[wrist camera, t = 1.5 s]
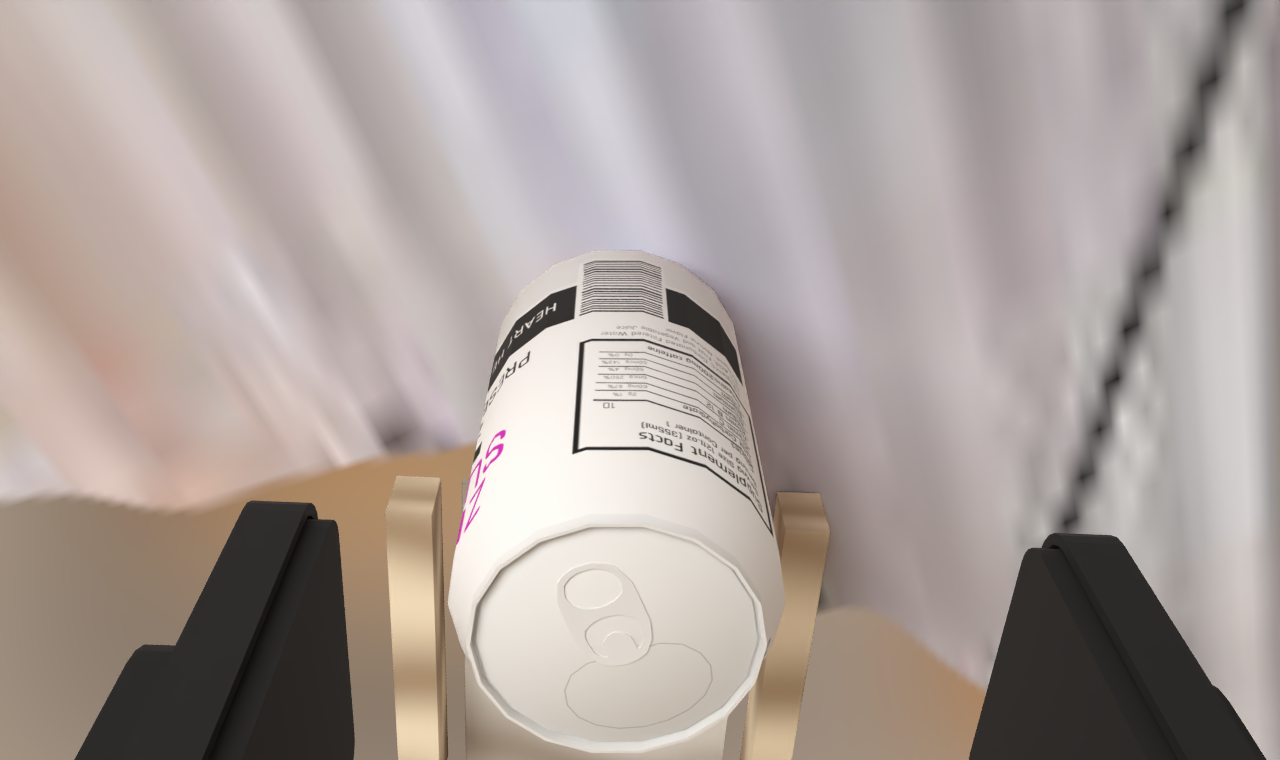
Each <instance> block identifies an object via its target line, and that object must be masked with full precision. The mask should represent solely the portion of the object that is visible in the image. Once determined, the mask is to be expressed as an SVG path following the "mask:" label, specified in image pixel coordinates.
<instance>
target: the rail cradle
mask: <svg viewBox="0 0 1280 760" xmlns="http://www.w3.org/2000/svg"><path fill="white" fill-rule="evenodd" d="M469 481H470V479H463V480H462V515H463V510H464V505H465V500H466V495H467V490H468V485H469ZM385 519H386V538H387V556H388V575H389V593H390V610H391V611H390V613H391V631H392V649H393V666H394V667H393V668H394V686H395V705H396V724H397V742H398V760H447V757H448V742H447V741H448V737H447V704H446V703H447V700H446V699H447V698H446V661H445V623H444V622H445V620H444V584H443V583H444V582H443V543H442V504H441V478H436V477H435V478H434V477H412V476H397V477H396V480H395V484H394V487H393V490H392V494H391V497H390V500H389V503H388V507H387V510H386V513H385ZM773 526H774V531H775V536H776V541H777V546H778V551H779V556H780V563H781V570H782V578H783V585H784V593H785V600H786V604H785V607H784V610H783V613H782V617H781V620H780V623H779V626H778V629H777V632H776V636H775V639H774V642H773V645H772V648H771V649H770V651H769V652H768V654H767V655H766V657H765V658H764V660H763V661H762V664H761V667H760V670H759V673H758V676H757V680H756V683H755V685H754V686H753V687H752V688H751V689H750V691H749V697H748V705H747V712H746V719H745V726H744V733H743V741H742V748H741V754H740V760H792V755H793V750H794V744H795V738H796V732H797V726H798V719H799V714H800V708H801V702H802V696H803V691H804V685H805V679H806V673H807V667H808V661H809V655H810V648H811V642H812V637H813V631H814V625H815V620H816V614H817V608H818V602H819V596H820V590H821V584H822V578H823V572H824V566H825V561H826V555H827V549H828V543H829V537H830V528H829V525H828V521H827V517H826V514H825V510H824V506H823V503H822V499H821V495H820V493H797V492H777V497H776V504H775V511H774V518H773ZM464 656H465V721H466V760H722V758H723V750H724V743H725V735H726V727H727V719H728V717H726V718H725V719H723V720H721V721H720V722H718V723H716V724H715V725H713V726H711V727H710V728H708V729H706V730H705V731H703V732H701V733H700V734H698V735H696V736H695V737H693V738H691V739H690V740H688V741H684V742H680V743H677V744H673V745H669V746H665V747H662V748H658V749H654V750H650V751H647V752H643V753H590V752H586V751H582V750H578V749H574V748H571V747H567V746H563V745H559V744H555V743H551V742H548V741H545V740H543V739H541V738H540V737H538V736H536V735H534V734H533V733H531V732H529V731H528V730H526V729H524V728H523V727H521V726H519V725H518V724H516V723H514V722H513V721H511V720H509V719H508V718H506V717H505V716H504V715H503V714H502V712H501V711H500V710H499V709H498V708H497V706H496V705H495V704H494V703H493V702H492V701H491V699H490V698H489V697H488V696H487V695H486V693H485V692H484V691H483V690H482V689H481V687H480V686H479V685H478V683H477V680H476V676H475V673H474V670H473V667H472V663H471V662H470V660H469V659H468V657H467V656H466V654H465V653H464Z"/></svg>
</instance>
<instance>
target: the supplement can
mask: <svg viewBox="0 0 1280 760" xmlns="http://www.w3.org/2000/svg"><path fill="white" fill-rule="evenodd" d="M785 604H786V600H785V593H784V585H783V578H782V570H781V563H780V556H779V551H778V546H777V541H776V536H775V531H774V526H773V521H772V515H771V510H770V505H769V500H768V495H767V490H766V485H765V480H764V475H763V470H762V465H761V460H760V455H759V450H758V445H757V440H756V435H755V430H754V425H753V420H752V415H751V410H750V405H749V400H748V395H747V390H746V385H745V380H744V375H743V370H742V365H741V360H740V355H739V350H738V345H737V340H736V335H735V330H734V325H733V323H732V321H731V319H730V318H729V316H728V314H727V313H726V311H725V309H724V307H723V306H722V304H721V302H720V301H719V299H718V297H717V295H716V294H715V292H714V290H712V289H711V288H710V287H709V286H707V285H706V284H705V283H704V282H702V281H701V280H700V279H699V278H697V277H696V276H695V275H694V274H692V273H691V272H690V271H689V270H687V269H686V268H685V267H684V266H682V265H681V264H678V263H675V262H672V261H670V260H667V259H664V258H661V257H658V256H655V255H652V254H649V253H646V252H643V251H641V250H595V251H592V252H589V253H586V254H583V255H580V256H577V257H574V258H571V259H568V260H565V261H562V262H559V263H556V264H554V265H553V266H551V267H550V268H549V269H547V270H546V271H545V272H544V273H542V274H541V275H540V276H539V277H537V278H536V279H535V280H533V281H532V282H531V283H530V284H528V285H527V286H526V287H525V288H523V289H522V290H521V292H520V294H519V295H518V297H517V299H516V300H515V302H514V304H513V305H512V307H511V309H510V310H509V312H508V314H507V315H506V317H505V319H504V321H503V322H502V324H501V329H500V334H499V339H498V344H497V349H496V354H495V358H494V363H493V368H492V373H491V378H490V383H489V388H488V393H487V398H486V402H485V407H484V412H483V417H482V422H481V427H480V432H479V437H478V441H477V446H476V451H475V456H474V461H473V466H472V471H471V476H470V481H469V485H468V490H467V495H466V500H465V505H464V510H463V515H462V520H461V524H460V529H459V534H458V539H457V544H456V549H455V554H454V560H453V567H452V574H451V581H450V589H449V596H448V606H449V610H450V613H451V616H452V619H453V623H454V626H455V629H456V632H457V636H458V639H459V642H460V645H461V648H462V649H463V651H464V653H465V654H466V656H467V657H468V659H469V660H470V662H471V663H472V667H473V670H474V673H475V676H476V680H477V683H478V685H479V686H480V687H481V689H482V690H483V691H484V692H485V693H486V695H487V696H488V697H489V698H490V699H491V701H492V702H493V703H494V704H495V705H496V706H497V708H498V709H499V710H500V711H501V712H502V714H503V715H504V716H505V717H506V718H508V719H509V720H511V721H513V722H514V723H516V724H518V725H519V726H521V727H523V728H524V729H526V730H528V731H529V732H531V733H533V734H534V735H536V736H538V737H540V738H541V739H543V740H545V741H548V742H551V743H555V744H559V745H563V746H567V747H571V748H574V749H578V750H582V751H586V752H590V753H643V752H647V751H650V750H654V749H658V748H662V747H665V746H669V745H673V744H677V743H680V742H684V741H688V740H690V739H691V738H693V737H695V736H696V735H698V734H700V733H701V732H703V731H705V730H706V729H708V728H710V727H711V726H713V725H715V724H716V723H718V722H720V721H721V720H723V719H725V718H726V717H728V716H729V714H730V713H731V712H732V710H734V708H735V707H736V706H737V705H738V704H739V702H740V701H741V700H742V699H743V698H744V697H745V695H746V694H747V693H748V692H749V691H750V689H751V688H752V687H753V686H754V685H755V683H756V680H757V676H758V673H759V670H760V667H761V664H762V661H763V660H764V658H765V657H766V655H767V654H768V652H769V651H770V649H771V648H772V645H773V642H774V639H775V636H776V632H777V629H778V626H779V623H780V620H781V617H782V613H783V610H784V607H785Z"/></svg>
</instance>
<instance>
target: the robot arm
mask: <svg viewBox="0 0 1280 760" xmlns="http://www.w3.org/2000/svg"><path fill="white" fill-rule="evenodd" d="M354 743H355V739H354V723H353V711H352V697H351V684H350V672H349V659H348V646H347V634H346V621H345V608H344V595H343V582H342V569H341V557H340V544H339V533H338V526H337V523H336V522H335V521H334V520H320V519H318V516H317V511H316V508H315V506H314V505H313V504H312V503H297V502H296V503H295V502H272V501H271V502H270V501H250V502H248V503H247V504H246V505H245V507H244V508H243V510H242V512H241V514H240V516H239V518H238V520H237V522H236V524H235V526H234V528H233V530H232V532H231V534H230V536H229V538H228V540H227V543H226V544H225V546H224V548H223V550H222V552H221V554H220V557H219V558H218V561H217V563H216V565H215V567H214V569H213V571H212V573H211V575H210V577H209V579H208V581H207V583H206V585H205V587H204V589H203V591H202V593H201V595H200V597H199V599H198V601H197V603H196V605H195V607H194V609H193V611H192V613H191V615H190V617H189V619H188V621H187V623H186V625H185V627H184V629H183V632H182V633H181V635H180V638H179V640H178V641H177V643H176V646H170V645H143V646H141V647H140V648H138V649H137V650H136V651H135V652H134V653H133V655H132V656H131V658H130V659H129V661H128V662H127V663H126V665H125V667H124V669H123V671H122V673H121V675H120V676H119V678H118V680H117V682H116V684H115V685H114V687H113V689H112V691H111V693H110V695H109V697H108V698H107V700H106V703H105V704H104V706H103V708H102V710H101V711H100V713H99V715H98V717H97V719H96V721H95V723H94V724H93V726H92V728H91V730H90V732H89V734H88V736H87V737H86V739H85V741H84V743H83V745H82V747H81V749H80V751H79V752H78V754H77V756H76V758H75V760H353V758H354ZM969 760H1266V758H1265V757H1264V755H1263V754H1262V752H1261V751H1260V749H1259V747H1258V746H1257V744H1256V743H1255V741H1254V740H1253V738H1252V736H1251V735H1250V733H1249V732H1248V730H1247V729H1246V727H1245V725H1244V724H1243V722H1242V721H1241V719H1240V718H1239V716H1238V715H1237V713H1236V711H1235V710H1234V708H1233V707H1232V705H1231V704H1230V702H1229V701H1228V700H1227V698H1226V697H1225V696H1224V695H1223V694H1222V692H1221V691H1220V690H1219V689H1218V688H1216V687H1215V686H1213V685H1212V684H1211V682H1210V681H1209V679H1208V677H1207V676H1206V674H1205V673H1204V671H1203V670H1202V668H1201V666H1200V665H1199V663H1198V662H1197V660H1196V658H1195V657H1194V655H1193V654H1192V652H1191V651H1190V649H1189V647H1188V646H1187V644H1186V643H1185V641H1184V639H1183V638H1182V636H1181V635H1180V633H1179V632H1178V630H1177V628H1176V627H1175V625H1174V624H1173V622H1172V621H1171V619H1170V617H1169V616H1168V614H1167V613H1166V611H1165V609H1164V608H1163V606H1162V605H1161V603H1160V602H1159V600H1158V598H1157V597H1156V595H1155V594H1154V592H1153V590H1152V589H1151V587H1150V586H1149V584H1148V583H1147V581H1146V579H1145V578H1144V576H1143V575H1142V573H1141V571H1140V570H1139V568H1138V567H1137V565H1136V564H1135V562H1134V560H1133V559H1132V557H1131V556H1130V554H1129V553H1128V551H1127V549H1126V548H1125V546H1124V545H1123V543H1122V542H1121V541H1120V540H1119V539H1118V538H1117V537H1114V536H1111V535H1089V534H1065V533H1054V534H1051V535H1049V536H1048V537H1047V539H1046V540H1045V541H1044V543H1043V546H1042V548H1031V549H1028V550H1027V552H1026V553H1025V555H1024V557H1023V560H1022V563H1021V567H1020V571H1019V574H1018V578H1017V582H1016V585H1015V589H1014V593H1013V597H1012V600H1011V604H1010V608H1009V611H1008V615H1007V619H1006V622H1005V626H1004V630H1003V634H1002V637H1001V641H1000V645H999V648H998V652H997V656H996V659H995V663H994V667H993V670H992V674H991V678H990V682H989V685H988V689H987V693H986V696H985V700H984V704H983V707H982V711H981V715H980V719H979V722H978V726H977V730H976V734H975V737H974V741H973V745H972V748H971V752H970V757H969Z"/></svg>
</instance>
